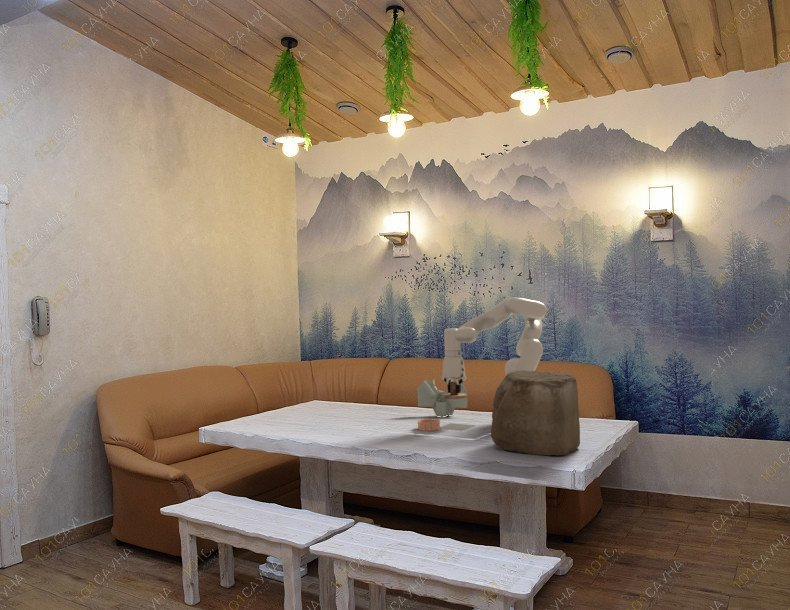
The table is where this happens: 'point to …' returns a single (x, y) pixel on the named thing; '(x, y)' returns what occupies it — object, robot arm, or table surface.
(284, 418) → the table surface
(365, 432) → the table surface
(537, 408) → the stone block
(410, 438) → the table surface
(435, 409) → the bracket
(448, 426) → the trivet
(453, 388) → the lid
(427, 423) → the bowl
